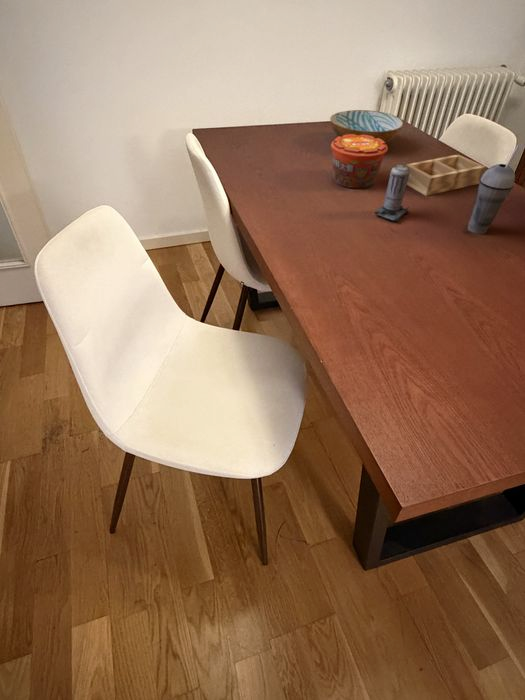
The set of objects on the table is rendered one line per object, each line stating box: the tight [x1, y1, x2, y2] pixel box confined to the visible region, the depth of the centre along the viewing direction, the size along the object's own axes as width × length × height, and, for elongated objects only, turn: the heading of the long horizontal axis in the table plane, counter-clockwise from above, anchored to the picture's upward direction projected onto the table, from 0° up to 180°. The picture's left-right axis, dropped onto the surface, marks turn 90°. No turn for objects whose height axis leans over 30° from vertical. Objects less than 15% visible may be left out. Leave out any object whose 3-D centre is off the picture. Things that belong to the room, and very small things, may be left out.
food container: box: [330, 134, 389, 190], centre depth 117 cm, size 16×16×11 cm
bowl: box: [329, 109, 405, 145], centre depth 141 cm, size 25×25×8 cm
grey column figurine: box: [374, 164, 410, 223], centre depth 101 cm, size 9×8×12 cm
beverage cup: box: [467, 144, 521, 235], centre depth 93 cm, size 7×7×20 cm
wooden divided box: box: [404, 154, 486, 197], centre depth 119 cm, size 21×11×5 cm, turn 115°
